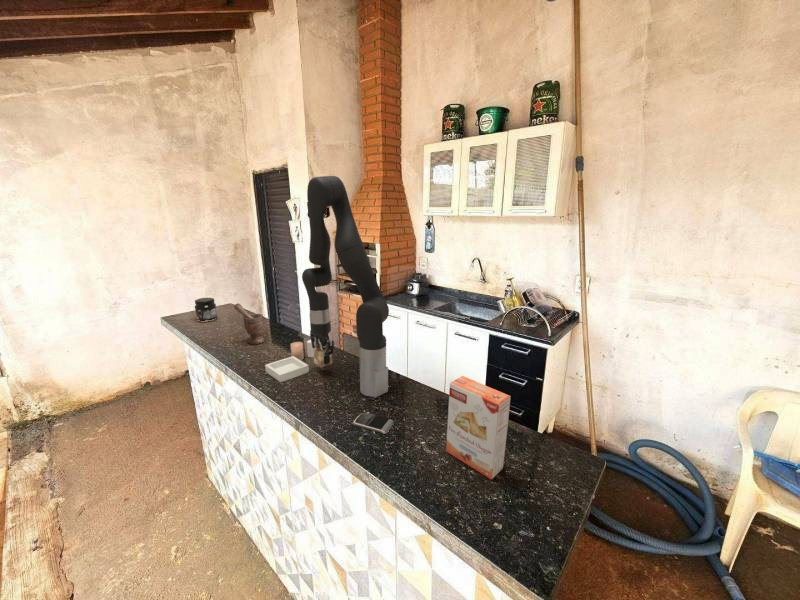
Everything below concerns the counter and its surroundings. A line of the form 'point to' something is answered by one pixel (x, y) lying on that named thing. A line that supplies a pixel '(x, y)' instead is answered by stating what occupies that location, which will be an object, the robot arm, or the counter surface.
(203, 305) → the supplement container
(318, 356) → the maple block
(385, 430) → the cell phone
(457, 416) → the cracker box
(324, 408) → the counter surface
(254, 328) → the mortar and pestle
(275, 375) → the white tray
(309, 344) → the medicine bottle
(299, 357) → the peach rounded capsule
